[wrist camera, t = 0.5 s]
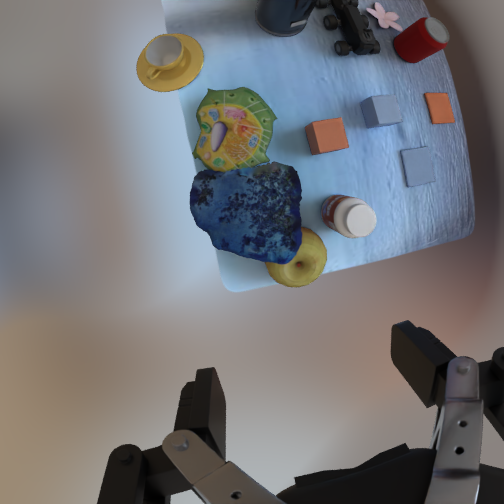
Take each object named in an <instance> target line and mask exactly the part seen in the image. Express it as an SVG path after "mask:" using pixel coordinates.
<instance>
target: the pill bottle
mask: <svg viewBox="0 0 504 504" xmlns="http://www.w3.org/2000/svg"><path fill="white" fill-rule="evenodd" d="M321 216H322V219H323V222H324V223H325V224H326V225H327V226H328V227H329V228H331V229H333V230H335V231H336V232H338V233H340V234H342V235H343V236H345V237H348V238H358V237H365V236H367V235H369V234H370V233H371V232H372V231H373V230H374V228H375V225H376V215H375V213H374V211H373V209H372V208H371V207H369V206H368V204H367V203H366V202H365V201H363V200H361V199H359V198H355V197H349V196H344V195H333V196H331V197H329V198H328V199H327V200H326V201H325V202H324V204H323V206H322V209H321Z"/></svg>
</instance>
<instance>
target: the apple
mask: <svg viewBox="0 0 504 504" xmlns="http://www.w3.org/2000/svg"><path fill="white" fill-rule="evenodd" d="M301 231H302V244H301V246H300V248H299V250H298V252H297V255H296V256H295V257H294V258H293V259H292V260H291V261H290V262H289V263H287V264H282V265H281V264H277V263H273V262H265V264H266V267H267V269H268V272H269V274H270V276H271V277H272V278H273V279H274V280H275V281H276V282H277V283H280V284H283V285H285V286H287V287H301V286H305V285H308V284H310V283H311V282H313V281H314V280H316V279H317V278H318V277H319V275H320V274H321V273H322V272H323V269H324V266H325V264H326V261H327V250H326V248H325V245H324V244H323V242H322V240H321V238H320V237H319V236H318V235H317V234H316V233H315V232H313V231H312V230H311V229H308V228H304V227H301Z"/></svg>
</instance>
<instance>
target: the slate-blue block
mask: <svg viewBox="0 0 504 504" xmlns="http://www.w3.org/2000/svg"><path fill="white" fill-rule="evenodd" d="M360 104H361V107H362V111H363V114H364V118H365V122H366V126H367V128H374V127H382V126H390V125H393V124H397V123H400V122H403V120H402V116H401V112H400V109H399V105H398V102H397V98H396V95H395V94H394V95H379V96H371V97H369V98H367V99H366V100H364V101H362V102H360Z"/></svg>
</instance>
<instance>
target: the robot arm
mask: <svg viewBox="0 0 504 504" xmlns="http://www.w3.org/2000/svg"><path fill="white" fill-rule="evenodd" d="M316 2H317V0H258V2H257V8H256V11H255V19H256V22H257V24H258V25H259V26H260V27H261V28H262V29H263V30H264V31H266V32H268V33H270V34H272V35H275V36H282V37H287V36H293V35H296V34H298V33H299V32H301V31H302V30H303V29H304V27H305V25H306V23H307V20H308V18H309V16H310V14H311V12H312V10H313V8H314V6H315V4H316ZM391 358H392V361H393V363H394V365H395V366H396V368H397V369H398V370H399V372H400V373H401V374H402V375H403V377H404V378H405V379H406V381H407V382H408V383H409V385H410V386H411V387H412V389H413V390H414V391H415V393H416V394H417V395H418V397H419V398H420V399H421V401H422V402H423V403H424V405H425V406H426V408H429V407H431V406H433V405H435V404H436V405H437V406H438V409H437V413H436V419H435V424H434V430H433V434H432V439H431V443H430V446H429V449H427V448H415V449H409V448H408V447H407V445H406V443H404V444H402V445H399V446H397V447H394V448H392V449H389V450H387V451H384V452H382V453H379V454H378V455H376V456H374V457H373V458H371V459H370V460H368V461H366V462H364V463H363V464H361V465H359V466H358V467H355V468H350V469H340V470H327V471H320V472H316V473H312V474H307V475H303V476H298V477H295V483H296V484H295V485H293V486H291V487H289V488H287V489H285V490H283V491H282V492H280V493H278V494H277V495H276V496H275V495H274V494H272V493H271V492H269V491H268V490H267V489H265V488H264V487H263V486H261V485H260V484H259V483H257V482H256V481H255V480H254V479H252V478H251V477H250V476H248V475H247V474H246V473H245V472H244V471H242V470H241V469H240V468H239V467H238V466H236V465H235V464H234V463H232V462H231V461H228V462H226V461H225V460H226V458H225V457H226V443H225V441H226V401H225V396H224V392H223V389H222V387H221V384H220V381H219V378H218V375H217V372H216V369H215V368H214V367H212V368H205V369H198V370H197V372H196V379H195V381H192V382H187V384H186V385H185V386H184V388H183V389H182V391H181V396H180V401H179V407H178V410H177V415H176V420H175V426H174V431H173V432H172V433H170V434H169V435H168V436H166V438H165V439H164V440H163V443H162V445H160V446H158V447H155V448H151V449H147V450H144V451H141V450H140V448H139V447H137V446H135V445H132V444H125V445H121V446H119V447H117V448H116V449H114V450H113V451H112V452H111V454H110V456H109V459H108V463H107V467H106V471H105V475H104V478H103V482H102V486H101V490H100V494H99V498H98V502H97V504H170V498H171V495H173V494H176V493H180V492H184V491H187V490H190V489H191V490H192V491H193V492H194V493H195V494H196V495H197V496H198V497H199V498H200V499H201V500H202V502H203V503H204V504H504V469H500V468H496V467H492V466H488V465H485V464H481V463H480V454H481V444H482V430H483V414H484V415H485V416H486V418H487V419H488V420H489V421H490V423H491V424H492V425H493V427H494V428H495V430H496V431H497V432H498V433H499V435H500V436H501V438H502V439H503V441H504V347H501V348H498V349H497V350H496V351H495V352H494V353H493V357H492V360H489V361H485V362H480V363H477V362H476V361H475V360H474V359H472V358H470V357H466V356H460V357H457V356H456V355H455V354H454V353H453V352H452V351H451V350H450V349H449V348H447V347H446V346H445V345H444V344H443V343H442V342H440V340H439V339H438V338H436V337H435V336H434V335H433V334H432V333H431V332H430V331H429V330H426V329H424V328H421V327H418V328H417V327H415V326H414V325H413V324H412V323H411V322H410V321H409V320H407V321H404V322H400V323H397V324H395V325H393V326H392V333H391Z"/></svg>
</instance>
